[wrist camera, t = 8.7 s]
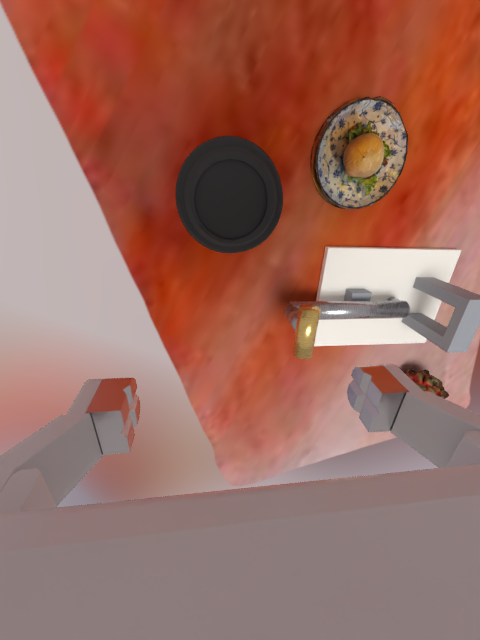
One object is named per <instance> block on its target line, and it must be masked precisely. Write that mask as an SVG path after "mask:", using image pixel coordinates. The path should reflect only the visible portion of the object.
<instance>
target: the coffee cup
mask: <svg viewBox="0 0 480 640" xmlns="http://www.w3.org/2000/svg"><path fill="white" fill-rule="evenodd" d="M176 204H177V209H178V213H179V216H180V218H181V220H182V223H183V224H184V226H185V228H186V229H187V231H188V232H189V233H190V235H191V236H192V237H193V238H194V239H195V240H196V241H198V242H199V243H200V244H202V245H203V246H205V247H207V248H209V249H211V250H214V251H217V252H222V253H237V252H243V251H246V250H249V249H252V248H254V247H256V246H258V245H259V244H261V243H262V242H263V241H264V240H266V239H267V238H268V237H269V235H270V234H271V233H272V232H273V230H274V229H275V227H276V225H277V223H278V221H279V218H280V215H281V211H282V205H283V192H282V186H281V181H280V177H279V174H278V172H277V169H276V167H275V165H274V163H273V162H272V160H271V159H270V157H269V156H268V155H267V154H266V153H265V152H264V151H263V150H262V149H261V148H260V147H259V146H257V145H256V144H254V143H252V142H250V141H248V140H246V139H243V138H240V137H234V136H222V137H217V138H213V139H210V140H208V141H206V142H204V143H202V144H201V145H199V146H198V147H197V148H196V149H195V150H193V151H192V153H191V154H190V155H189V156H188V157H187V159H186V160H185V162H184V164H183V165H182V167H181V170H180V172H179V175H178V179H177V184H176Z"/></svg>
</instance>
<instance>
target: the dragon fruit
mask: <svg viewBox="0 0 480 640" xmlns="http://www.w3.org/2000/svg"><path fill="white" fill-rule="evenodd" d="M412 371H413V372H415V370H414V369H409V370H407V372H406V375H407V376H408V377H409V378H410V379H411V380H412V381H413V382H414V383H415V384H416V385H417V386H418V387H420V388H421V389H422V390H423V391H428V392H430V393H432V394H435V395H437V396H439V397H441V398H443V399H445V398H447V397H448V396H449V394H448V393H447V392H446V391H445V390H444V387H443V386H442V382H441V381H440V380H439V379H437V378H435V377H434V376H432V375H430V374H429V371H427V370H423V371H419V372H418V373H417V374H414V373H413V372H412Z"/></svg>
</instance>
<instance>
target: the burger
mask: <svg viewBox="0 0 480 640" xmlns="http://www.w3.org/2000/svg"><path fill="white" fill-rule="evenodd" d="M407 147H408V135H407V132H406V129H405V126H404V124H403V121H402V118H401V115H400V112H398V111H397V110H396V108H395V107H394V104H393V103H392V102H391V101H389V100H387V99H386V98H383V97H381V96H380V97H376V98H370V97H365V98H363V99H360V98H359V99H354V100H351V101H349V102H348V103H346V104H344V105H343V106H341V107H340V108H338V109H337V110H335V111H334V112H333V114H332V115H331V116H329V117H328V119H327V121H326V122H325V124H324V125H323V126H322V129H321V131H320V133H319V135H318V136H317V138H316V139H315V143H314V146H313V150H312V155H313V158H312V161H311V172H312V178H313V181H314V184H315V186H316V189H317V190H318V192H319V194H320V195H321V196H322V197H323V198H324V199H325V200H326V201H327V202H328V203H330V204H331V205H333V206H335V207H338V208H342V209H345V208H346V209H347V208H348V209H359V208H363V207H366V206H370V205H372V204H374V203H375V202H377V201H379V200H380V199H382V198H383V197H384V196H385V195H386V194H387V193H388V192H389V191H390V190H391V189H392V188H393V186H394V185H395V183H396V181H397V179H398V177H399V176H400V174H401V172H402V170H403V167H404V164H405V160H406V155H407Z"/></svg>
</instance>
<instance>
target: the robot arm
mask: <svg viewBox="0 0 480 640" xmlns="http://www.w3.org/2000/svg"><path fill="white" fill-rule="evenodd" d="M351 376H352V377H353V379H354V380H353V381H352V382H351V383H350V384H349V386H348V390H347V394H348V400H349V403H350V405H351V406H352V408H353V409H354V410H356V411H357V412H359V413H360V416H359V418H360V420H361V421H362V423H363V424H364V426H365V427H366V429H367V430H368V432H383V431H391V433H392V434H394V435H395V436H397V437H398V438H399V439H401V440H402V441H403V442H405V443H406V444H407V445H409V446H410V447H411V448H413V449H414V450H416V451H417V452H418V453H419V454H421V455H422V456H424V457H425V458H426V459H428V460H429V461H430V462H432V463H433V464H434V465H436V466H437V467H438V468H435V469H425V470H415V471H406V472H396V473H387V474H377V475H368V476H357V477H348V478H339V479H329V480H319V481H309V482H300V483H290V484H280V485H271V486H261V487H251V488H241V489H232V490H223V491H213V492H203V493H193V494H184V495H174V496H165V497H155V498H145V499H135V500H126V501H116V502H107V503H98V504H87V505H78V506H69V507H58V508H57V506H58V504H59V503H60V502H61V501H62V500H63V499H64V498H65V497H66V496H67V495H68V494H69V492H70V491H71V490H72V489H73V488H74V487H75V486H76V485H77V484H78V483H79V481H80V480H81V479H82V478H83V477H84V476H85V475H86V474H87V473H88V472H89V471H90V470H91V469H92V467H93V466H94V465H95V464H96V463H97V462H98V461H99V460H100V459H101V458H102V455H107V454H116V453H125V452H130V450H131V446H132V443H133V439H134V429H133V428H134V427H135V426H136V425H137V424H138V420H139V414H140V401H139V397H138V396H137V395H136V394H135V392H136V389H137V384H136V380H135V379H134V378H112V379H89V380H87V381H86V382H85V383H84V385H83V387H82V388H81V390H80V392H79V394H78V395H77V397H76V399H75V400H74V402H73V404H72V405H71V407H70V409H69V411H68V412H67V414H66V415H60V416H59V417H57V418H56V419H55V420H53V421H51V422H50V423H48V424H47V425H45V426H44V427H42V428H41V429H39V430H38V431H37V432H35V433H33V434H32V435H30V436H29V437H27V438H26V439H24V440H23V441H22V442H20V443H19V444H17V445H16V446H14V447H13V448H11V449H10V450H8V451H7V452H5V453H4V454H2V455H1V456H0V640H480V415H479V414H476V413H474V412H472V411H470V410H467V409H465V408H463V407H461V406H459V405H457V404H454V403H452V402H450V401H448V400H446V399H443V398H441V397H439V396H437V395H435V394H432V393H430V392H428V391H423V390H422V389H421V388H420V387H418V386H417V385H416V384H415V383H414V382H413V381H412V380H411V379H410V378H409V377H408V376H407V375H406V374H405V373H404V372H403V371H402V370H400V369H399V368H398V367H397V366H396V365H393V364H386V365H378V366H360V367H355V368H354V369H353V371H352V375H351Z"/></svg>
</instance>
